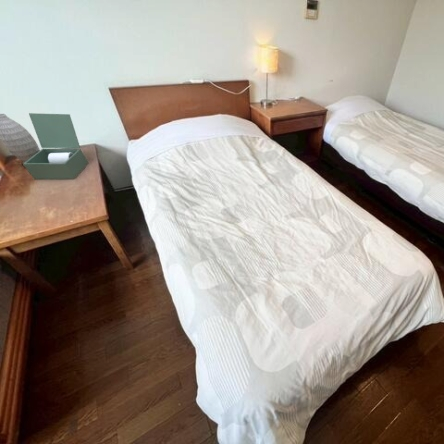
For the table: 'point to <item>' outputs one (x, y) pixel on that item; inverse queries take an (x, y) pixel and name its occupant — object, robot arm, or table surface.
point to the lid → (54, 130)
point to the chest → (56, 165)
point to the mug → (59, 157)
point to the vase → (17, 139)
